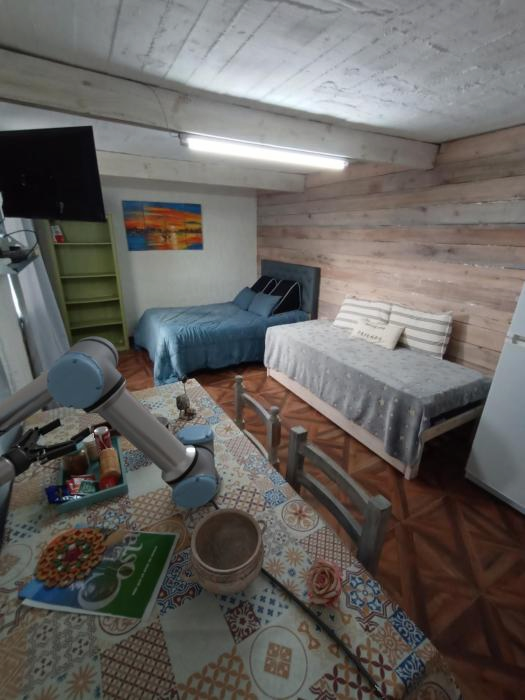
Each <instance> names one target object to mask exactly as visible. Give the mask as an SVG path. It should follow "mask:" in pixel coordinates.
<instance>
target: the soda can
mask: <svg viewBox="0 0 525 700" xmlns="http://www.w3.org/2000/svg"><path fill="white" fill-rule="evenodd" d="M94 432H95V433H94V438H95V442H94V443H95V448H96V452H97V455H98V454H99V453H100V452H101V451H102V450H103V449H106V448H112V449H113V444H112V440H111V439H112V437H110V433H109V430H108V428H107V427H99V428H97V429H96V430H95V431H94ZM94 438H93V439H94Z"/></svg>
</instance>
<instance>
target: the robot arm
mask: <svg viewBox="0 0 525 700" xmlns="http://www.w3.org/2000/svg"><path fill="white" fill-rule="evenodd" d="M119 359H120V358H119V353H118V350H117V348H116V346H115V345H114V344H113V343H112V342H111V341H110V340H108V339H106V338H104V337H101V336H86V337H83V338H81V339H80V340H78V341H76V342H75V343H74V344H73V345H72V346H71V347H70V348H69V349H68V350H66V351H65V352H64V353H63V354H61V355H60V356H59V357H58V358H57V359H56V360H55V361H54V362H53V365H52V366H51V367H50V368H49V369H47V370H46V371H44V372H43V373H42V374H40V375H38V377H36V378H35V379H33V380H31V381H30V382H29V383H27V384H26V385H24V386H22V387H21V388H20V389H19V390H16V392H14V393H13V394H11V395H10V396H8V397H7V398H5V399H3V400H2V401H1V402H0V438H1V437H2V436H5V434H7V433H8V432H10V431H11V430H12V429H14V428H15V427H17V426H18V425H21V424H22V422H24V421H25V420H28V419H29V418H31V416H33V415H35V414H36V413H37V412H39V411H40V410H42V409H43V408H45V407H46V406H48V405H49V404H51V403H52V402H53V401H55V402H57V403H58V404H59V405H60V406H63V407H65V408H68V409H71V408H72V409H74V410H82V411H83V412H85V413H86V414H87V415H88V414H97V415H99V416H100V417H101V418H102V419H103V420H104V421H107V422H108V423H109V424H110V425H111V426H112V427H113V428H115V429H116V430H117V431H118V432H119V433H120V434H119V435H121V436H122V437H123V438H124V439H126V440H127V441H128V442H129V443H130V444H131V445H132V446H133V447H134V448H136V449H137V451H139V452H140V453H141V454H143V456H145V457H146V458H147V459H148V460H149V461H150V462H151V463H153V464H154V465H155V466H156V467H157V468H158V469H159V470H160V471H161V473H160V474H161V479H162V481H163V482H164V483H165V484H166V485H168V486H169V487H170V488H171V489H172V492H171V496H172V500H173V502H174V504H176V505H177V506H179V507H181V508H184V509H193V508H194V509H195V508H199V507H201V506H204V505H206V504H207V503H209V502H210V503H211V505H212V506H213V507H214V509H215V510H218V509H221V508H220V507H219V505H218V504H217V503H216V501H215V500H214V499H213V498H214V497H215V496H217V494H218V493H219V491H220V489H221V485H222V484H221V475H220V474H219V472H218V469H217V467H216V462H215V461H216V460H215V444H214V441H215V440H214V439H215V435H214V431H213V429H212V428H211V427H209V426H207V425H204V424H192V425H191V424H190V425H188V426H185V427H183V428H181V429H180V430H179V431H178V432H177V433H176V436H175V435H174V433H172V432H171V431H170V430H168V429H167V428H166V427H165V426H164V425H163V424H162V423H161V422H160V421H159V420H158V419H157V418H156V417H157V416H155V415H154V414H153V413H152V412H151V411H150V410H149V409H148V408H147V407H146V406H145V405H144V404H143V403H142V402H141V401H140V400H139V399H138V398H137V397H136V396H135V395H133V393H132V392H131V391H129V389H128V388H127V379H126V377H125V376H123V374H121V372H120V371H119V370H118V369H117V367H118V366H119ZM61 426H62V422H61V419H60V418H55V419H54V420H52V421H50V422H48V423H47V424H45V425H43V426H40V427H39V426H34V427H33V428H32V427H31V428H29V429H28V430H27V431H26V432H25V433H24V434H23V435H22V436H20V438H19V439H18V440H16V442H14V443H12V445H10V446H9V450H7V451H5V452H4V453H2V454H1V455H0V488H1V487H4V485H6V484H8V483H9V482H11V481H12V480H14V479H15V478H16V477H19V476H21V475H22V474H23V473H25V472H27V471H28V470H29V469H30V468H31V465H32V464H33V463H35V462H38V463H39V465H40V466H43V465H46V464H47V463H49V462H50V461H51V462H52V461H53V460H56V459H58V458H59V459H60V458H61V457H64V456H66V455H69V454H72V453H74V452H77V451H78V446H77V445H79V444H80V443H82V442H83V441H84V440H85V439H86V438H88V437H90V436H91V434H92V433H91V431H90V430H91V428H90V427H86V428H84V429H82V430H81V431H79V432H77V433H76V434H74V435H73V436H71V437H70V438H69V440H66V441H62V442H57V443H53V444H49V445H48V444H44V445H42V444H38V441H39V440H40V438H41V436H43V437H44V436H45V435H47V434H49V433H50V432H53V431H54V430H56V429H58V428H59V427H61ZM260 572H261V573H262V574H263V575H264V576H265V577H266V578H268V579H269V580H270V581H271V582H273V584H275V585H276V586H277V587H278V588H279V589H280V590H282V591H283V592H284V593H285V594H286V595H287V596H288V597H290V599H291V600H293V601H294V603H296V604H297V605H298V606H299V607H301V609H303V610H304V611H305V612H306V613H307V614H308V615H309V616H310V617H311V618H312V619H313V620H314V621H315V622H316V623H317V624H318V625H319V626H320V628H322V629H323V630H324V631H325V632H326V633H327V634H328V635H329V636H330V638H331V639H332V640H333V641H334V642H335V643H336V644H337V645H338V646H339V647H340V649H341V650H342V651H343V652H344V653H345V654H346V655H347V657H348V658H349V659H350V660H351V662H352V663H353V664H354V665H355V666H356V667H357V669H358V670H359V671H360V672H361V673H362V675H363V676H364V677H365V679H366V680H367V681H368V682H369V684H370V685H371V686H372V687H373V689H374V690H375V691H376V693H377V694H378V695H379V697H380V698H381V700H385V699H384V698H382V697H383V696H382V695H381V694H380V692H379V691H378V690H377V688H376V687H375V685H376V686H377V685H378V686H379V684H378V683H377V682H376V680H375V679H374V678H373V677H372V675H371V674H370V672H368V670H367V669H366V668H365V666H364V665H363V664H362V662H360V660H358V658H357V657H356V656H355V655H354V653H353V652H352V651H351V650H350V649H349V648H348V646H346V645H345V644H344V642H343V641H342V640H341V639H340V638H339V636H337V635H336V633H334V631H332V629H331V628H330V627H329V626H328V625H327V624H326V623H325V622H324V621H323V620H321V618H320V617H319V616H318V615H316V613H314V611H313V610H312V609H310V607H309V606H307V605H306V604H305V602H303V601H302V600H301V599H299V598H298V597H297V596H296V595H295V594H294V593H293V592H292V591H291V590H289V589H288V588H287V587H286V586H285V585H283V583H281V582H280V581H279V580H278V579H277V578H276V577H274V576H273V575H272V574H271V573H270V572H269V571H267V570H266V569H265V568H264V567H263V566H262V568H261V570H260ZM378 686H377V687H378ZM381 690H382V691H383V689H382V688H381ZM384 694H385V695H386V693H385V692H384ZM387 698H388V699H389V697H388V696H387Z"/></svg>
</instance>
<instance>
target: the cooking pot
mask: <svg viewBox="0 0 525 700" xmlns="http://www.w3.org/2000/svg"><path fill="white" fill-rule="evenodd" d="M260 524H263V527H262V528H261V526H260ZM267 528H268V523H267V521H266V520H265V519H264V518H263V519H262V518H260V519H256V518H255V517H254V516H253V515H252V514H251V513H249V512H247V511H246V510H244V509H241V508H237V507H222V508H220V509H218V510H216V509H215V510H213V511H211V512H209V513H207V514H206V515H204V516H203V517H202V518H201V519H200V520H199V521H198V523H197V524H196V526H195V527H194V529H193V532H192V534H191V540H190V545H191V546H190V550H189V563H188V564H187V565H186V566H185V567H183V569H182V570H181V572H180V575H179V576H180V580H181V581H182V582H185V583H196V582H197V584H198V585H199V586H200V587H201V588H203V589H204V590H205V591H206V592H209V593H210V594H214V595H217V596H231V595H236V594H238V593H240V592H242V591H244V590H245V589H247V588H248V587H249V586H250V585H252V584H253V583H254V581H256V579H257V577H258V576H259V574H260V572H261V571H260V570H261V568H262V567H263V564H264V560H265V544H264V541H263V535H264V534H265V532H266V530H267ZM188 571H191V574H192V576H190V577H189V576H188V577H187V576H185V573H186V572H188Z"/></svg>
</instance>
